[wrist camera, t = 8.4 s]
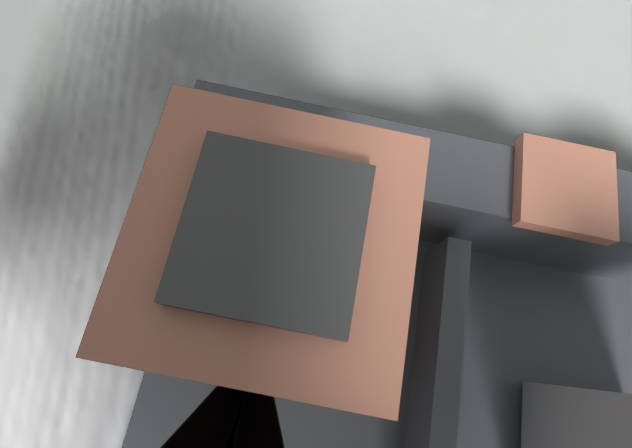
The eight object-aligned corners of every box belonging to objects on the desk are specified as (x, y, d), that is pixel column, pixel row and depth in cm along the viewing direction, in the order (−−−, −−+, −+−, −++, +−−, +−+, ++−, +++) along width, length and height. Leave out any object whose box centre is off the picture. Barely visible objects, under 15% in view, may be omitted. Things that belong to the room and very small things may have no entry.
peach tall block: (323, 377, 14) (404, 425, 5) (208, 354, 14) (62, 358, 5) (342, 264, 15) (437, 128, 6) (237, 243, 15) (167, 71, 6)
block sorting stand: (971, 688, 14) (1376, 885, 9) (110, 523, 14) (2, 629, 8) (875, 283, 19) (1108, 256, 13) (221, 147, 18) (196, 63, 13)
